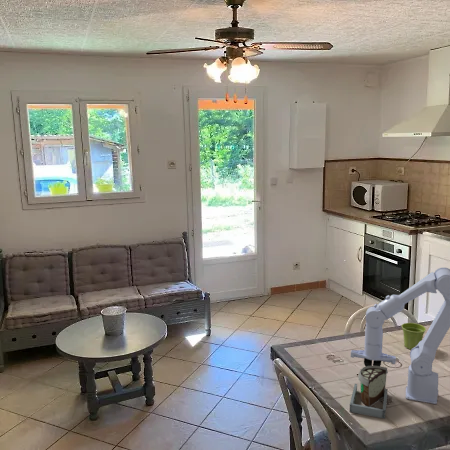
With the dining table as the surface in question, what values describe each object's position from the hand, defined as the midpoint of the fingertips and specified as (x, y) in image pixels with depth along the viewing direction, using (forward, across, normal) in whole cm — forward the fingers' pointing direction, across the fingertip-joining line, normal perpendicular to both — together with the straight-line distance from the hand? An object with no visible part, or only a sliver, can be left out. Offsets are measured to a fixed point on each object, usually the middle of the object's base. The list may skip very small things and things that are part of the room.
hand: (371, 379), depth 159 cm
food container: (+4, 0, +7) cm, 8 cm away
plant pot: (+4, -13, -40) cm, 42 cm away
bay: (+3, 0, +10) cm, 11 cm away
